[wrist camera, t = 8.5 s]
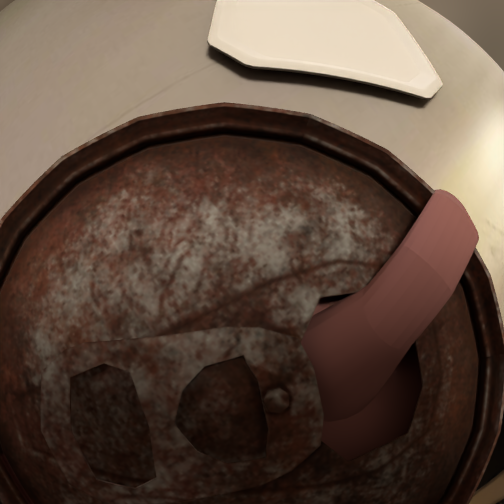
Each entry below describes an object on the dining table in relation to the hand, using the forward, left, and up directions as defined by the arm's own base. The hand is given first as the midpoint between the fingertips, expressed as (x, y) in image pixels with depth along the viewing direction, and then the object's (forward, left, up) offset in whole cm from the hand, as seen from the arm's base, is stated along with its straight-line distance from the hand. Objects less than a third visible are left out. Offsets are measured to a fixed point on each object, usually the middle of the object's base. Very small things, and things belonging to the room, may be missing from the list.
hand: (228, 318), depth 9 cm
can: (-1, +1, -7) cm, 7 cm away
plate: (+23, -32, -11) cm, 41 cm away
